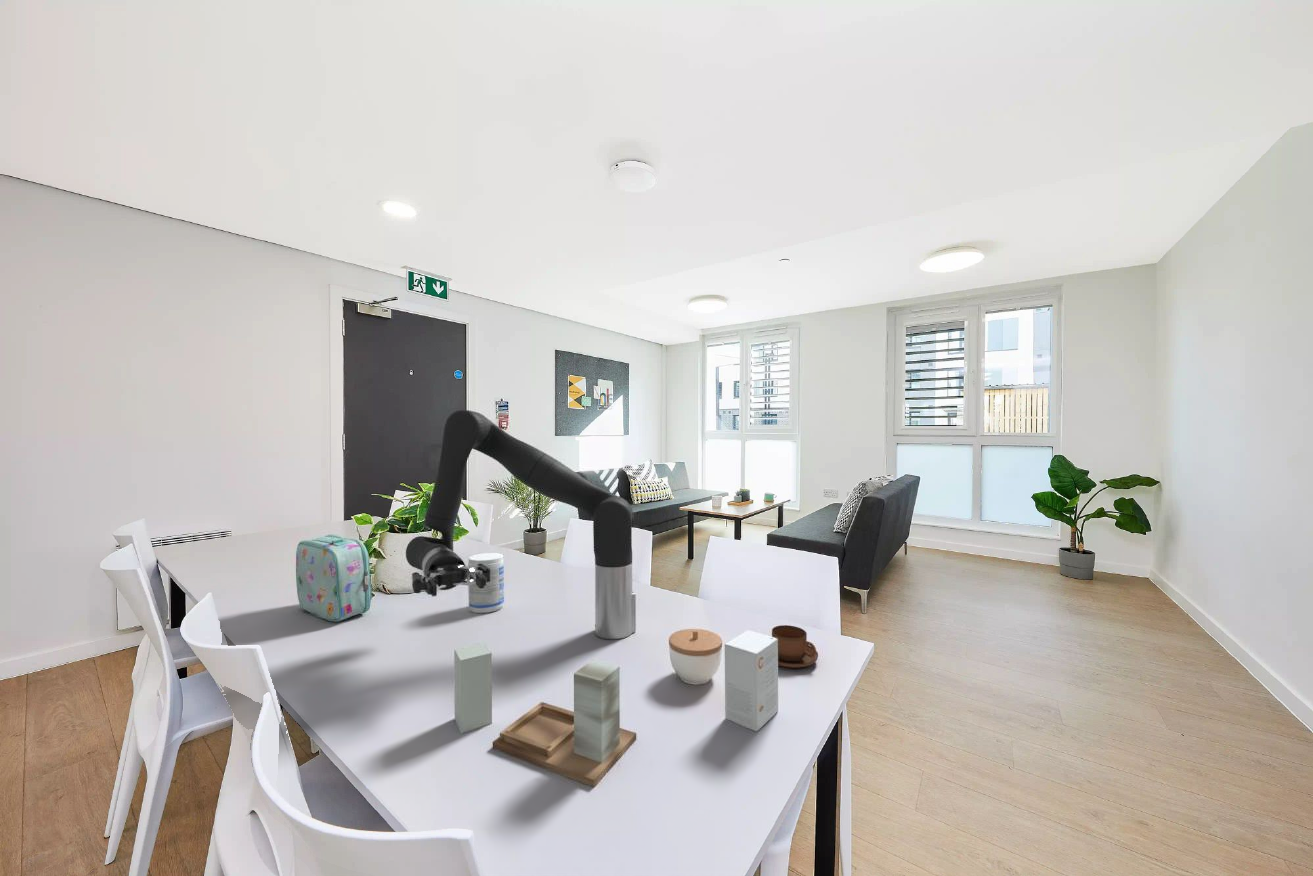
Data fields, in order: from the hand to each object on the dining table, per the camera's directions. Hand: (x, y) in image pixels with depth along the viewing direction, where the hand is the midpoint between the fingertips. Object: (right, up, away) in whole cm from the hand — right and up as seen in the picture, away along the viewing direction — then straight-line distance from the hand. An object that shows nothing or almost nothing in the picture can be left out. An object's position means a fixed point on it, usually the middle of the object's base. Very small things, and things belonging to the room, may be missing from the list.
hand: (459, 587), depth 93 cm
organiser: (+23, -20, -16) cm, 35 cm away
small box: (+54, -20, -8) cm, 58 cm away
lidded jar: (+45, -20, +6) cm, 50 cm away
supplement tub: (-11, -20, +46) cm, 51 cm away
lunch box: (-52, -20, +43) cm, 70 cm away
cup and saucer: (+66, -20, +14) cm, 71 cm away
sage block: (+6, -20, -9) cm, 23 cm away
